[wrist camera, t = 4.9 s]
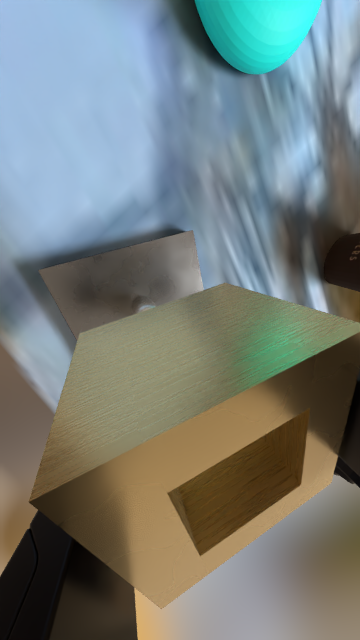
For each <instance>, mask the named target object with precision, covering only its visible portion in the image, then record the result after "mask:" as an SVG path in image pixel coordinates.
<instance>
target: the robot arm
mask: <svg viewBox="0 0 360 640" xmlns="http://www.w3.org/2000/svg"><path fill="white" fill-rule="evenodd" d="M334 474H335V475H338V476H341V477H342V478H344V479H345V480H347V481H348V482H350V483H352V484H356V485H357V486H358V487H359V488H360V370H359V374H358V378H357V382H356V386H355V390H354V394H353V398H352V402H351V406H350V410H349V414H348V418H347V422H346V426H345V430H344V434H343V438H342V442H341V446H340V450H339V454H338V458H337V462H336V466H335V470H334ZM0 640H138V638H137V623H136V609H135V593H134V587H133V586H132V585H131V584H130V583H128V582H127V581H126V580H125V579H123V578H122V577H121V576H120V575H118V574H117V573H116V572H115V571H113V570H112V569H111V568H110V567H109V566H107V565H106V564H105V563H104V562H102V561H101V560H100V559H99V558H97V557H96V556H95V555H94V554H92V553H91V552H90V551H89V550H87V549H86V548H85V547H84V546H82V545H81V544H80V543H79V542H78V541H76V540H75V539H74V538H73V537H71V536H70V535H69V534H68V533H66V532H65V531H64V530H63V529H61V528H60V527H59V526H58V525H56V524H55V523H54V522H53V521H51V520H50V519H49V518H48V517H47V516H45V515H44V514H43V513H42V512H40V511H39V510H38V511H37V513H36V515H35V517H34V518H33V520H32V522H31V524H30V528H29V529H27V531H26V532H25V534H24V536H23V538H22V539H21V541H20V543H19V545H18V546H17V548H16V550H15V552H14V553H13V555H12V557H11V559H10V561H9V562H8V564H7V566H6V567H5V569H4V571H3V572H2V574H1V576H0Z"/></svg>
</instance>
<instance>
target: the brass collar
mask: <svg viewBox="0 0 360 640" xmlns="http://www.w3.org/2000/svg"><path fill="white" fill-rule="evenodd" d="M359 370H360V323H358V322H355V321H351V320H348V319H345V318H341V317H338V316H335V315H331V314H328V313H325V312H321V311H318V310H315V309H311V308H308V307H305V306H301V305H298V304H295V303H291V302H288V301H285V300H281V299H278V298H275V297H271V296H268V295H265V294H261V293H258V292H254V291H251V290H248V289H244V288H241V287H238V286H234V285H231V284H228V283H223V284H220V285H218V286H215V287H212V288H209V289H206V290H203V291H200V292H197V293H194V294H192V295H189V296H186V297H183V298H180V299H177V300H174V301H171V302H168V303H166V304H163V305H160V306H157V307H154V308H151V309H148V310H145V311H142V312H140V313H137V314H134V315H131V316H128V317H125V318H122V319H119V320H116V321H114V322H111V323H108V324H105V325H102V326H99V327H96V328H93V329H91V330H88V331H85V332H82V333H80V334H79V337H78V340H77V344H76V347H75V350H74V354H73V357H72V360H71V364H70V367H69V370H68V374H67V377H66V380H65V383H64V387H63V390H62V393H61V397H60V400H59V403H58V407H57V410H56V413H55V417H54V420H53V423H52V427H51V430H50V433H49V437H48V440H47V443H46V446H45V450H44V453H43V456H42V460H41V463H40V467H39V469H38V473H37V476H36V480H35V483H34V487H33V489H32V493H31V496H30V499H29V503H30V504H32V505H33V506H34V507H35V508H37V509H38V510H39V511H40V512H42V513H43V514H44V515H45V516H47V517H48V518H49V519H50V520H51V521H53V522H54V523H55V524H56V525H58V526H59V527H60V528H61V529H63V530H64V531H65V532H66V533H68V534H69V535H70V536H71V537H73V538H74V539H75V540H76V541H78V542H79V543H80V544H81V545H82V546H84V547H85V548H86V549H87V550H89V551H90V552H91V553H92V554H94V555H95V556H96V557H97V558H99V559H100V560H101V561H102V562H104V563H105V564H106V565H107V566H109V567H110V568H111V569H112V570H113V571H115V572H116V573H117V574H118V575H120V576H121V577H122V578H123V579H125V580H126V581H127V582H128V583H130V584H131V585H132V586H133V587H135V588H136V589H137V590H138V591H140V592H141V593H142V594H143V595H145V596H146V597H147V598H148V599H149V600H151V601H152V602H153V603H154V604H156V605H157V606H158V607H160V608H161V609H162V608H164V607H165V606H166V605H168V604H169V603H170V602H172V601H173V600H174V599H175V598H177V597H178V596H180V595H181V594H182V593H184V592H185V591H186V590H188V589H189V588H191V587H192V586H193V585H195V584H196V583H197V582H199V581H200V580H201V579H203V578H204V577H205V576H207V575H208V574H209V573H211V572H212V571H213V570H215V569H216V568H217V567H219V566H220V565H221V564H223V563H224V562H225V561H227V560H228V559H229V558H231V557H232V556H234V555H235V554H236V553H237V552H239V551H240V550H242V549H243V548H244V547H246V546H247V545H248V544H250V543H251V542H252V541H254V540H255V539H256V538H258V537H259V536H260V535H262V534H263V533H264V532H266V531H267V530H268V529H270V528H271V527H273V526H274V525H275V524H276V523H278V522H279V521H281V520H282V519H283V518H285V517H286V516H287V515H289V514H290V513H291V512H293V511H294V510H295V509H297V508H298V507H299V506H301V505H302V504H303V503H305V502H306V501H307V500H309V499H310V498H312V497H313V496H314V495H315V494H317V493H318V492H319V491H321V490H322V489H324V488H325V487H326V486H328V485H329V484H330V483H331V482H332V478H333V474H334V470H335V466H336V462H337V458H338V454H339V450H340V446H341V442H342V438H343V434H344V430H345V426H346V422H347V418H348V414H349V410H350V406H351V402H352V398H353V394H354V390H355V386H356V382H357V378H358V374H359Z"/></svg>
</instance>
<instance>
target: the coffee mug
mask: <svg viewBox="0 0 360 640" xmlns="http://www.w3.org/2000/svg"><path fill="white" fill-rule="evenodd" d="M324 275H325V278H326V280H327V281H328V282H329V283H331V284H334V285H338V286H341V287H345V288H348V289H352V290H355V291H359V292H360V233H357V234H351V235H346V236H343V237H341V238H340V239H339V240H337V241H336V242H335V244H334V245H333V246H332V248H331V249H330V251H329V253H328V255H327V258H326V261H325V266H324Z"/></svg>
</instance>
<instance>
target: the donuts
mask: <svg viewBox="0 0 360 640" xmlns="http://www.w3.org/2000/svg"><path fill="white" fill-rule="evenodd" d="M321 2H322V0H195V4H196V7H197V10H198V13H199V16H200V18H201V21H202V23H203V26H204V28H205V30H206V33H207V34H208V36H209V38H210V40H211V41H212V43H213V45H214V46H215V48H216V49H217V51H218V52H219V53H220V55H221V56H222V57H223V58H224V59H225V60H226V61H227V62H228V63H229V64H230V65H232V66H233V67H234V68H236V69H238V70H239V71H242V72H244V73H247V74H264V73H267V72H270V71H272V70H274V69H276V68H277V67H279V66H281V65H282V64H283V63H284V62H285V61H287V60H288V59H289V58H290V57H291V56H292V54H293V53H294V52H295V51H296V50H297V48H298V47H299V46H300V44H301V43H302V41H303V40H304V38H305V37H306V35H307V33H308V31H309V30H310V27H311V25H312V23H313V21H314V19H315V17H316V15H317V12H318V10H319V7H320V5H321Z"/></svg>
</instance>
